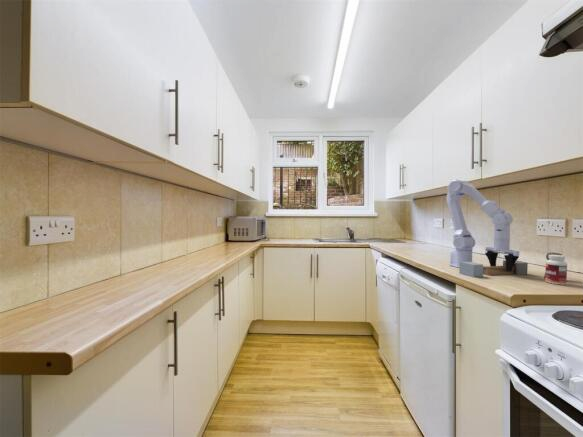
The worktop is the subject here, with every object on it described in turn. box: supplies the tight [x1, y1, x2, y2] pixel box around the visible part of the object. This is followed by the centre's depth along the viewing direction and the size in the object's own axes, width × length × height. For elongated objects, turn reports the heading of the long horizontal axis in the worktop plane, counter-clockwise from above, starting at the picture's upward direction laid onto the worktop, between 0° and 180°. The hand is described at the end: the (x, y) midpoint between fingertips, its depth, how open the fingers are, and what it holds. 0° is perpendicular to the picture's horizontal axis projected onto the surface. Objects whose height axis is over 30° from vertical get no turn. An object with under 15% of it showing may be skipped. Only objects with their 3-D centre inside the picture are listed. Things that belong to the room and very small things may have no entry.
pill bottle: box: [544, 254, 568, 286], centre depth 111 cm, size 6×6×11 cm
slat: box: [483, 265, 517, 276], centre depth 128 cm, size 3×16×4 cm, turn 104°
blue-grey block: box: [458, 261, 484, 278], centre depth 124 cm, size 7×5×5 cm
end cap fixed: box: [502, 259, 529, 276], centre depth 130 cm, size 7×5×5 cm
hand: (500, 269), depth 128 cm, fingers open, 7 cm apart
